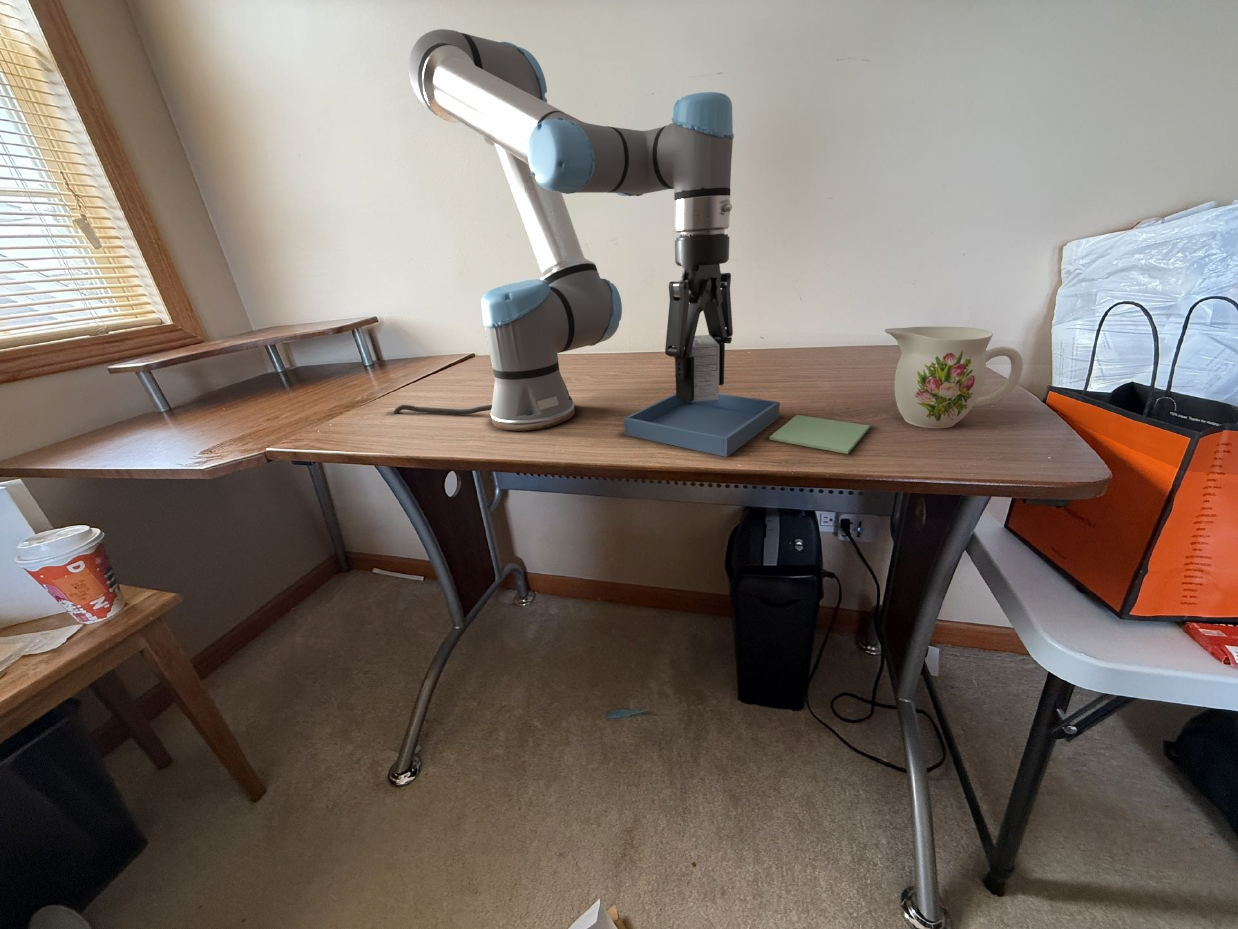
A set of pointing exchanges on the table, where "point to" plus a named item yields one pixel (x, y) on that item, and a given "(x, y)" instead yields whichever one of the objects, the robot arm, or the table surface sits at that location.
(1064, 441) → the table surface
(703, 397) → the medicine box
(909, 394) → the pitcher
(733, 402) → the tray
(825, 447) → the mat
